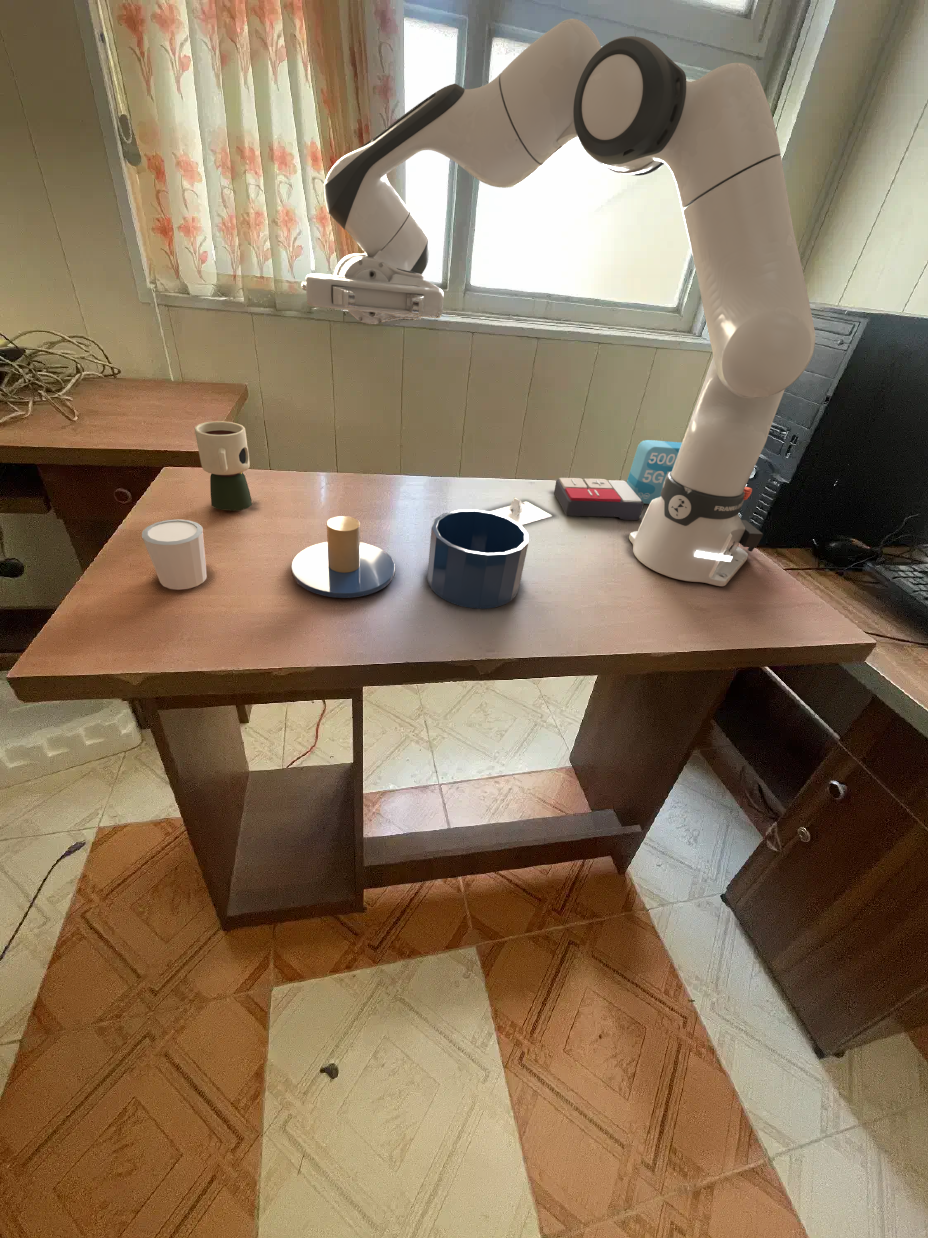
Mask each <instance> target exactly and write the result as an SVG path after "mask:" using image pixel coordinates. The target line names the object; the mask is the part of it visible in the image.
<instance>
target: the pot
mask: <svg viewBox="0 0 928 1238" xmlns="http://www.w3.org/2000/svg"><path fill="white" fill-rule="evenodd" d="M529 535H530V534H529V532H528V531H527V530H526V528H524V525H520V524H519V523H517V522H515V521H514V520H512V519H510V518H509V517H506V516H503V515H500V514H497V513H494V512H490V511H489V510H480V509H456V510H452V511H448V512H447V511H446V512H444V513H442V514H440V515H439V516H437V517H436V518H434V519H433V523H432V525H431V530H430V540H429V541H430V542H429V551H428V552H429V553H428V565H427V574H426V575H427V576H426V577H427V583H428V585H429V587H430V589H431V590H432V592H433V593H434V594H436V595H437V596H438V597H439V598H441V599H443V600H444V601H446V602H447V603H450V604H453V605H456V606H459V607H463V608H468V609H469V608H470V609H481V610H483V609H484V610H485V609H492V608H497V607H498V608H499V607H500V606H501V607H502V606H504V605H506V604H508V603H510V602H511V601H512V600H514V598H515V597H516V596H517V594H518V592H519V590H520V589H519V588H520V585H521V580H522V575H523V571H524V565H525V561H526V556H527V551H528V548H529V542H530V541H529V540H530V539H529V537H530V536H529Z"/></svg>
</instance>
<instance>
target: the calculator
mask: <svg viewBox="0 0 928 1238" xmlns="http://www.w3.org/2000/svg"><path fill="white" fill-rule="evenodd" d="M626 482H627V481H626V480H618V479H617V480H616V479H609V480H607V479H606V478H583V479H582V478H579V477H559V478H558V479H556V481H555V485H554V492H553V494H554V496H555V498H556V499H557V501H558V503H559V504H560V505H559V506H560V507H561V508H562V510H563V512H564V514H565V515H566V516H570V517H571V516H572V517H573V516H575V517H609V518H610V517H613V518H619V519H620V520H624V521H639V520H640V518H641V515H642V513H643V512H642V511H643V508H644V506H645V505H644V503H643V501H642V500H641V499H640V498H639V497H638V496H637V494H636V493H635V492H634V491H633V490H632V489H631V487H630V486H629V485H628V484H627V483H626Z"/></svg>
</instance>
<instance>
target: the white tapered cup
mask: <svg viewBox="0 0 928 1238" xmlns="http://www.w3.org/2000/svg"><path fill="white" fill-rule="evenodd" d="M141 538H142V541H143V543H144V546H145V549H146V550H147V553H148V555H149V558H150V560H151V563H152V565H153V568H154V571H155V573H156V575H157V579H158V581H159V584H161V586H163V587H164V588H167V589H169V590H178V591H179V590H180V591H181V590H190V589H192V588H195V587H196V588H197V587H198V586H199V585H201V584H203V583H204V582H205V581H206V580H207V578H208V577H207V574H208V573H207V562H206V552H205V551H206V550H205V542H204V529H203V526H202V525H200V523H198V522H195V521H192V520H189V519H180V518H179V519H165V520H161V521H157V522H155V523H152V524H150V525H147V526H146V527H145V528H144V529H143V530H142V532H141Z"/></svg>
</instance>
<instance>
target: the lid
mask: <svg viewBox="0 0 928 1238" xmlns="http://www.w3.org/2000/svg"><path fill="white" fill-rule="evenodd" d="M326 540H327V541H323V542H318V543H315V544H313V545H310V546H307V547H306V548H304V549H303V550H301V551H299V552H298V553H297V554H296V555H295V556H294V558H293V559H292V562H291V567H290V569H291V575H292V577H293V579H294V581H295V582H296V583H297V584H298V586H300V587H301V588H303V589H304V590H306V591H309V592H311V593H314V594H315V595H319V596H323V597H328V598H340V599H351V598H358V597H359V598H360V597H364V596H368V595H372V594H374V593H377V592H379V591H381V590H383V589H384V588H386V587H387V586H388V585H389V584H390V583H391V582H393V580H394V577H395V574H396V564H395V561H394V559H393V558H392V556H391V555H390V554H388V552H386V551H385V550H384V549H382V548H380V547H378V546H375V545H372V544H369V543H366V542H363V541H361V523H360V521H359V520H358V519H356V518H355V517H351V516H346V515H338V516H334V517H331V518H329V519H328V520H327V521H326Z"/></svg>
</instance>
